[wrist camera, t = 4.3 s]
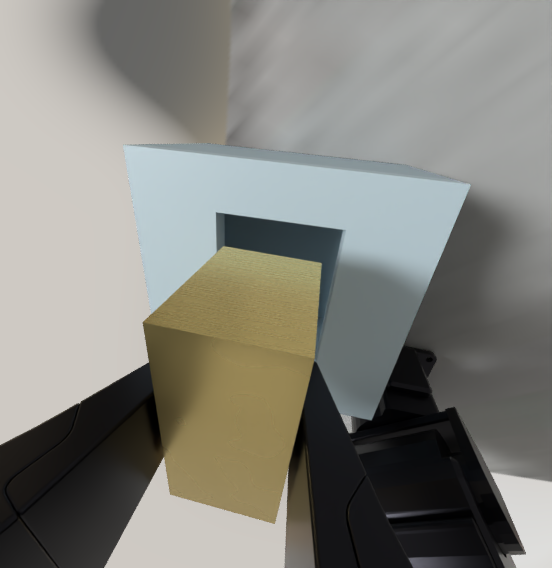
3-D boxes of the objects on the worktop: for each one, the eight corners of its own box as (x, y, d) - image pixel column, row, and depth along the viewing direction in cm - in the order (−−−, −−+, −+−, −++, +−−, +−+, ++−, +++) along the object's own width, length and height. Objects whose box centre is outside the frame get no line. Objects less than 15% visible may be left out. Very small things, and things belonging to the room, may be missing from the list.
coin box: (357, 329, 21) (371, 420, 14) (213, 303, 22) (161, 376, 16) (406, 164, 15) (470, 184, 8) (208, 143, 17) (122, 144, 10)
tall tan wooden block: (321, 262, 8) (314, 358, 4) (293, 399, 11) (274, 523, 7) (223, 246, 8) (142, 322, 5) (221, 383, 11) (170, 494, 7)
